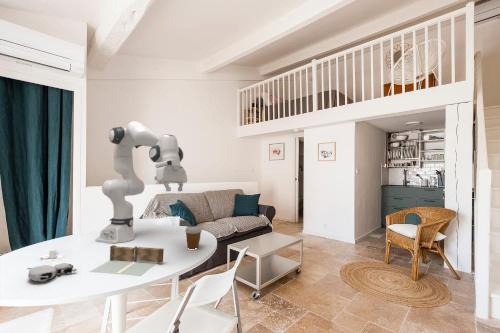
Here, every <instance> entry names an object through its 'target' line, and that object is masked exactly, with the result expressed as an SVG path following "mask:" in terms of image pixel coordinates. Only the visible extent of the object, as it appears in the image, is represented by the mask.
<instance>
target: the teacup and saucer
mask: <svg viewBox="0 0 500 333" xmlns="http://www.w3.org/2000/svg"><path fill="white" fill-rule="evenodd" d="M57 257H58V258H57ZM62 258H63V255H62V254H61V255H60V252H59V251H58V250H57V249H52V250H49V251H48V254H42V255H40V259H42V261H43V262H51V261H57V260H60V259H62ZM48 259H49V260H48Z"/></svg>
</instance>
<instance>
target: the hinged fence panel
mask: <svg viewBox="0 0 500 333" xmlns="http://www.w3.org/2000/svg"><path fill="white" fill-rule="evenodd" d="M164 251H165V250H164V248H158V247H143V246H137V261H148V262H158V263H160V264H161V263H163V262H164ZM158 263H157V264H158Z"/></svg>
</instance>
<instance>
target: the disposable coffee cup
mask: <svg viewBox="0 0 500 333" xmlns="http://www.w3.org/2000/svg"><path fill="white" fill-rule="evenodd" d="M202 231H203V230H202V227H200V226H187V227H186V228H185V230H184V232H185V234H186V235H185V236H186V248H189V249H195V248H198V249H199V246H200V245H199V244H200V241H201V233H202Z"/></svg>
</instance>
